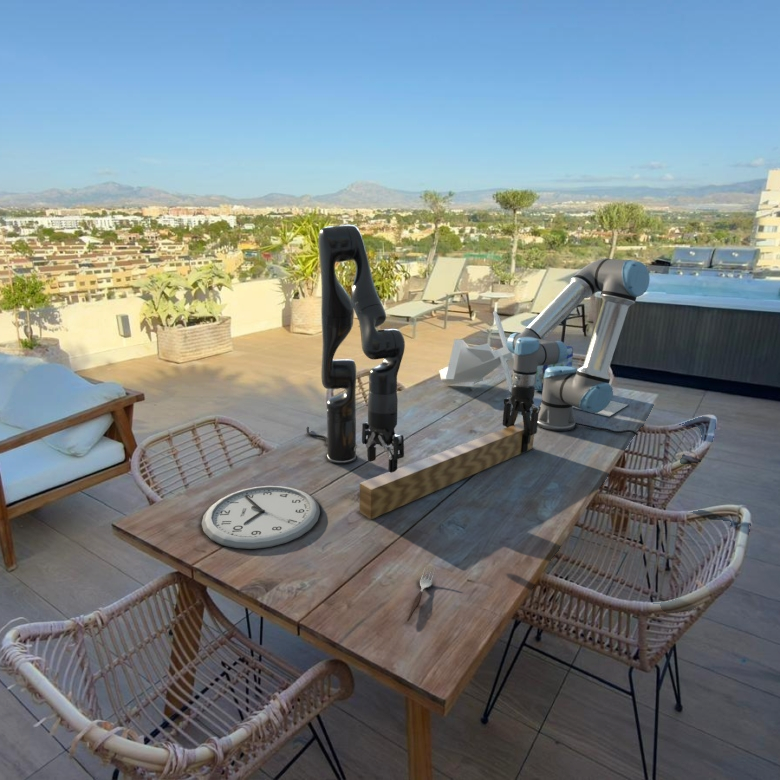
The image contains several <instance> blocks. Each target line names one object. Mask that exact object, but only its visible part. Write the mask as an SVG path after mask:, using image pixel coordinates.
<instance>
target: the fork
mask: <svg viewBox="0 0 780 780" xmlns="http://www.w3.org/2000/svg"><path fill="white" fill-rule="evenodd" d="M426 567H427V565H425V567H424V570H423V573H422V575H421V578H420V580H419V586H420V588H421V589H420V590H419V592H418V594H417V595H416V596H415V598H414V599H413V602H412V604H411V608H410V611H409V614H408V617H407V620H406V621H407V622H409V621H410V619H411V618H412V616H413V614H414V613H415V612H416V610H417V608H418V606H419V604H420V603H421V598H422V595H423V593H424V590H425V589H429V588H430V587H431V586H432V584H433V581H434V577H435V571H436V568H434V570H433V567H431V568H430V566H428V567H427V570H426ZM429 568H430V569H429ZM429 570H430V571H429ZM432 571H433V573H432ZM425 572H426V573H425ZM428 574H429V575H428Z"/></svg>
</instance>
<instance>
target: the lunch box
mask: <svg viewBox="0 0 780 780" xmlns="http://www.w3.org/2000/svg"><path fill="white" fill-rule="evenodd" d="M566 347H567V350H568V353H567V358H566V359H565V360H564V361H563V362H561V363H557V364H550V365H541V366H537V373H536V383H535V385H534V386H535V391H539V392H542V391H543V378H544V375H545V370H546V369H547V368H549V367H555V366H568V367H573V358H574V349H573V346H571V345H566Z"/></svg>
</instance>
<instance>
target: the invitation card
mask: <svg viewBox="0 0 780 780" xmlns="http://www.w3.org/2000/svg"><path fill="white" fill-rule="evenodd" d="M628 406H629V404H627V403H623V402H618V401H614V400H611V401H610V403H609V404H608V406H607V407H606V408H605V409H603V410H602V411H600V412H597V413H595V414H596V415H600V416H604V417H608V418H609V417H611V416H613V415H614V414H616V413H617V412H619V411H621V410H623V409H624V408H626V407H628ZM573 409H575V410H581V409H579V408H577V407H574V406H573ZM581 411H582V410H581Z"/></svg>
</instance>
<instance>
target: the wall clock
mask: <svg viewBox="0 0 780 780" xmlns="http://www.w3.org/2000/svg"><path fill="white" fill-rule="evenodd" d="M320 514H321V510H320V504H319V503H318V502H317V500H316V499H315V498H314V497H313V496H311V495H310V494H308V493H306V492H305V491H303V490H300V489H296V488H294V487H289V486H283V485H282V486H281V485H263V486H254V487H249V488H243V489H240V490H238V491H234V492H232V493H229V494H228V495H226V496H223V497H222V498H220V499H219V500H217V501H216V502H214V503H213V504H212V505H210V506H209V508H208V509H207V510H206V511H205V513H204V514H203V516H202V520H201V527H202V530H203V533H204V534H205V536H207V537H208V538H209V539H210V540H211V541H212V542H215V543H217V544H219V545H221V546H225V547H229V548H235V549H249V550H250V549H251V550H252V549H253V550H254V549H264V548H272V547H275V546H279V545H284V544H286V543H289V542H291V541H293V540H296V539H298V538H300V537H302V536H303V535H304V534H306V533H307V532H310V531H311V530H312V529H313V527H314V526H315V525H316V524H317V523H318V520H319V518H320Z"/></svg>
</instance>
